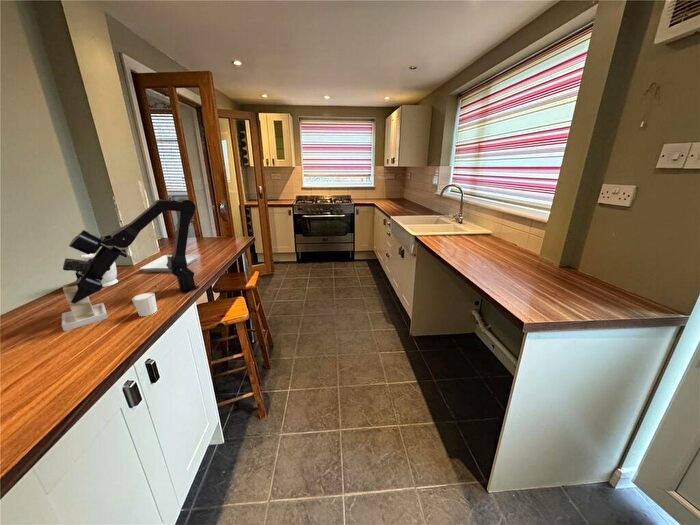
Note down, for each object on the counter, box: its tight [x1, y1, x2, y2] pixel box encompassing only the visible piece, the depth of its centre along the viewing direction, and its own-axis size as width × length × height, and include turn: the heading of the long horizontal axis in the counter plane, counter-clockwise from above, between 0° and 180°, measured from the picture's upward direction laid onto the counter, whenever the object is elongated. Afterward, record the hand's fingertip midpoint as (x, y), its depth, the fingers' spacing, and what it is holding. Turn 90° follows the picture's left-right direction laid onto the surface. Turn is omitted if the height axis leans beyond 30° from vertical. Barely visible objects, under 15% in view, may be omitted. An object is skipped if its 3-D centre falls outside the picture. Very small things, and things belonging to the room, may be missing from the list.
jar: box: [80, 250, 119, 288], centre depth 128 cm, size 11×10×15 cm
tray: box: [61, 302, 109, 332], centre depth 101 cm, size 12×12×2 cm
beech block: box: [62, 281, 95, 321], centre depth 99 cm, size 5×5×13 cm
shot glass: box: [131, 292, 158, 318], centre depth 103 cm, size 7×7×7 cm
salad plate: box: [139, 254, 201, 273], centre depth 151 cm, size 21×21×3 cm
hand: (72, 298), depth 98 cm, fingers open, 9 cm apart
